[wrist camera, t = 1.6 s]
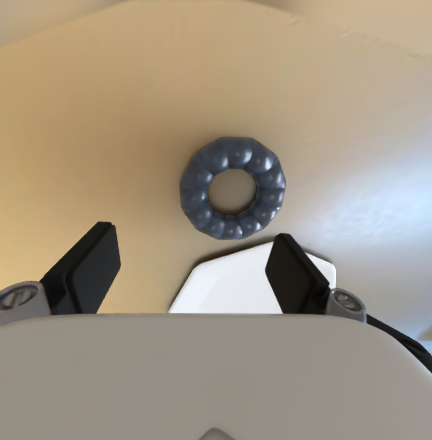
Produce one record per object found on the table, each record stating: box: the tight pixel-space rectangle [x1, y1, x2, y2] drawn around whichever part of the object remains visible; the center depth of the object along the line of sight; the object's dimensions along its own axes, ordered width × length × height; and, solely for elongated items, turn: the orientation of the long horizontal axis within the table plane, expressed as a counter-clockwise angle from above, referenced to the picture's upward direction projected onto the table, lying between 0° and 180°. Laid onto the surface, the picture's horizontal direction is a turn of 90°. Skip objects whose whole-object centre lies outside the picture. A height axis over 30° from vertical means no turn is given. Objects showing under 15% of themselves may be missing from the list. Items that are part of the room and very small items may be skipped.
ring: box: [180, 137, 286, 240], centre depth 21 cm, size 12×12×3 cm
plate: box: [167, 241, 336, 314], centre depth 32 cm, size 28×28×2 cm
